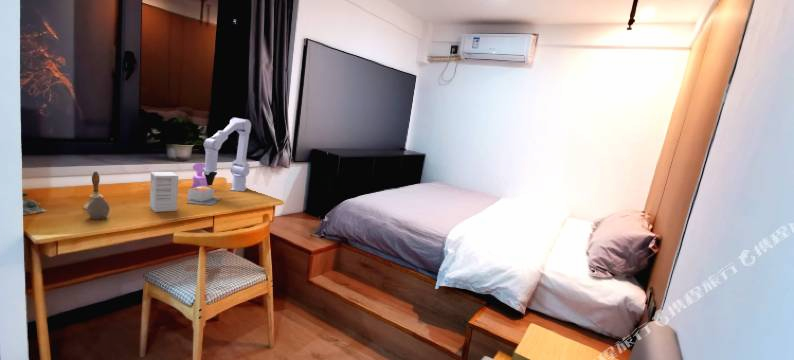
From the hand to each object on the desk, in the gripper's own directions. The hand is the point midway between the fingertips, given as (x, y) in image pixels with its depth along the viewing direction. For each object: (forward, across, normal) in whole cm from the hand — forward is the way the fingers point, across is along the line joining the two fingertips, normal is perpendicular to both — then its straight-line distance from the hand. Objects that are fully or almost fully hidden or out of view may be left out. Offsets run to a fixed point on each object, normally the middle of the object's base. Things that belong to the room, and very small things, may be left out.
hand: (209, 185), depth 191 cm
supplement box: (+7, +26, -12) cm, 30 cm away
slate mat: (+7, +8, 0) cm, 11 cm away
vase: (+7, +46, -28) cm, 54 cm away
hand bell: (+7, +32, -36) cm, 49 cm away
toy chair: (+7, -18, -10) cm, 21 cm away
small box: (+4, 0, -1) cm, 4 cm away
